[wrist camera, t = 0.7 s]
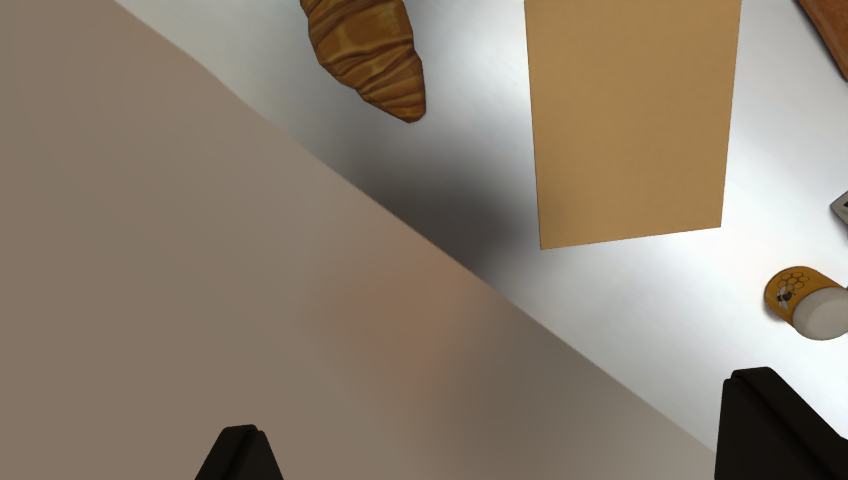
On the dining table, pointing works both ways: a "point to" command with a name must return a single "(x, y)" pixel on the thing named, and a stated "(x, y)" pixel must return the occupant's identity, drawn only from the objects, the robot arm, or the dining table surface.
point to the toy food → (811, 297)
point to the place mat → (630, 115)
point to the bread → (831, 26)
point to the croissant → (370, 52)
